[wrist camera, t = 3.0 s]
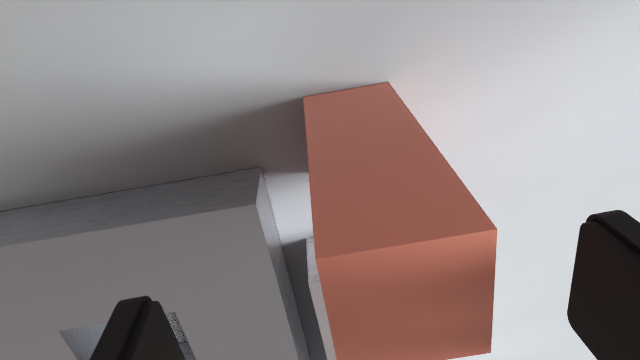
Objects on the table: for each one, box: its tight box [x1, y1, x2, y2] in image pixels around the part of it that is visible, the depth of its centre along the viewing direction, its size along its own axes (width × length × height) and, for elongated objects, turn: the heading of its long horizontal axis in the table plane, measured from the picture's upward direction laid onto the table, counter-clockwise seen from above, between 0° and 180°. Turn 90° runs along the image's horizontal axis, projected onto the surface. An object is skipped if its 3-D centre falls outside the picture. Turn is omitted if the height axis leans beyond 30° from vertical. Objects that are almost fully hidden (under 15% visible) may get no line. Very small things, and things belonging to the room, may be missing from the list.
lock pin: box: [303, 82, 497, 360], centre depth 13 cm, size 3×3×10 cm
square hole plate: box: [0, 167, 310, 360], centre depth 20 cm, size 14×14×3 cm
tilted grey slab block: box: [306, 237, 337, 360], centre depth 21 cm, size 10×3×3 cm, turn 10°
